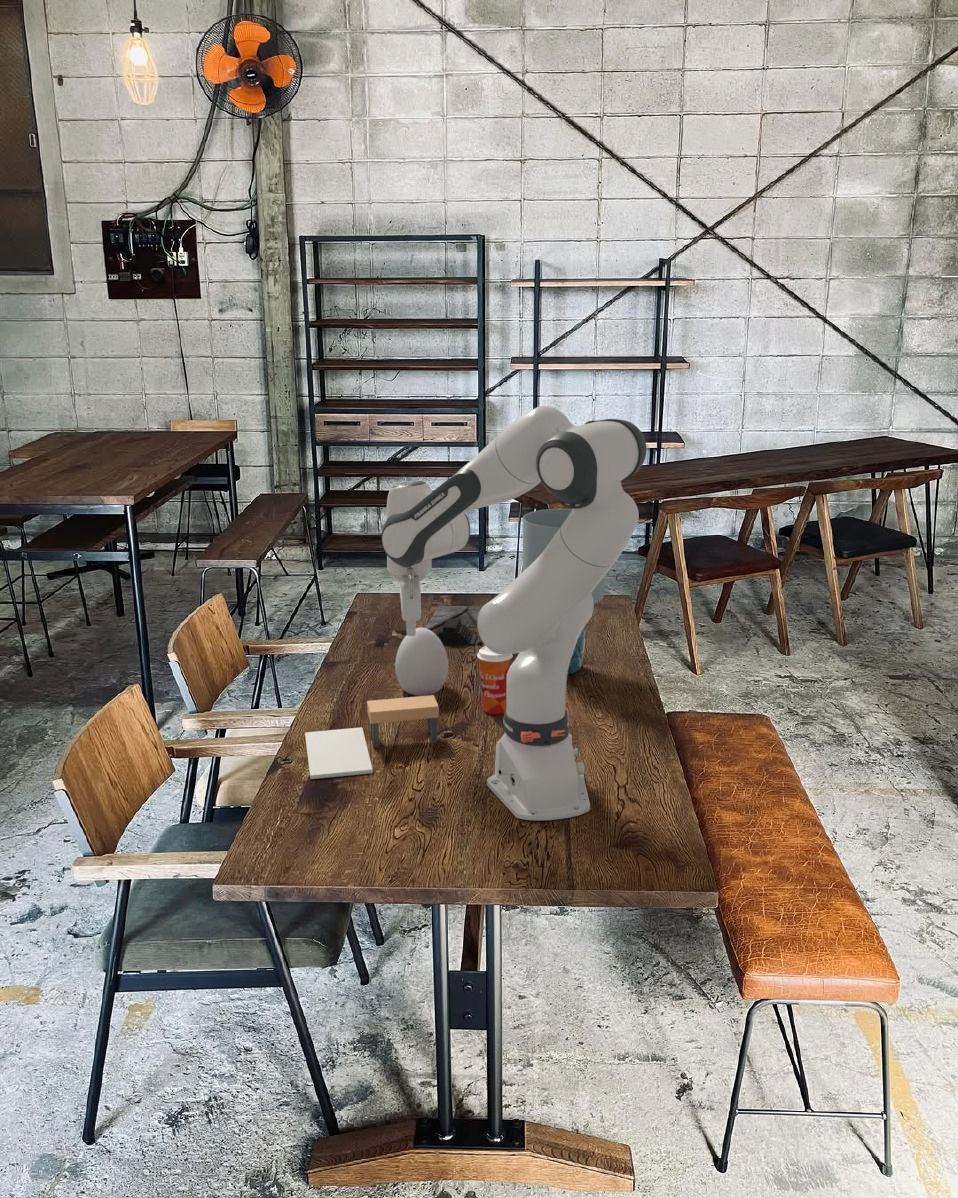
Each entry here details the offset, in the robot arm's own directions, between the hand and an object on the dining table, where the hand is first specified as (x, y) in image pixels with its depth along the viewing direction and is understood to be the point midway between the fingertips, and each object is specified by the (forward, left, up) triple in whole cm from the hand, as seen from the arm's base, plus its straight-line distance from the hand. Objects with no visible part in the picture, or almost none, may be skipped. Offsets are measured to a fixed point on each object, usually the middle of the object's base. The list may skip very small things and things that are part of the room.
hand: (410, 626), depth 215 cm
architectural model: (+67, -22, -25) cm, 75 cm away
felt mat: (-5, +16, -24) cm, 30 cm away
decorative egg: (+25, -6, -24) cm, 35 cm away
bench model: (-1, +2, -24) cm, 24 cm away
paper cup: (+10, -20, -24) cm, 33 cm away
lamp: (+30, -41, -24) cm, 56 cm away
